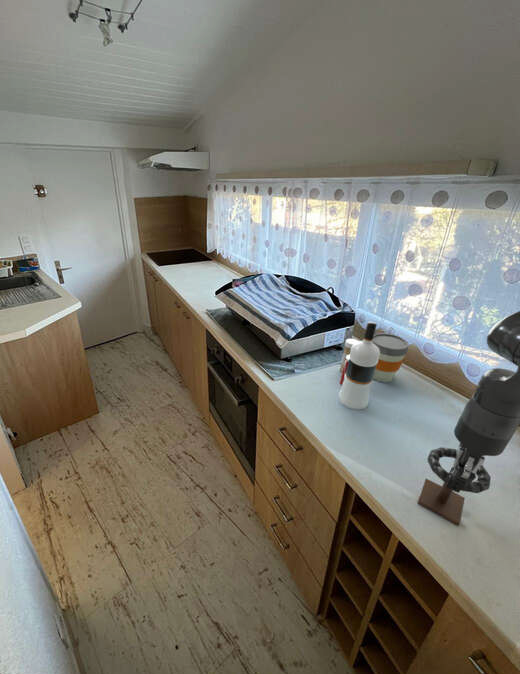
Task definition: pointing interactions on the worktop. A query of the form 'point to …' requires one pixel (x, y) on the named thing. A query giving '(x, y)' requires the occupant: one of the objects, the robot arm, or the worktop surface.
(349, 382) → the vodka
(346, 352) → the sprinkles bottle
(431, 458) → the ring
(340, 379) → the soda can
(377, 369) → the reusable coffee cup
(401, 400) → the worktop surface
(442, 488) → the post
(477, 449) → the robot arm
